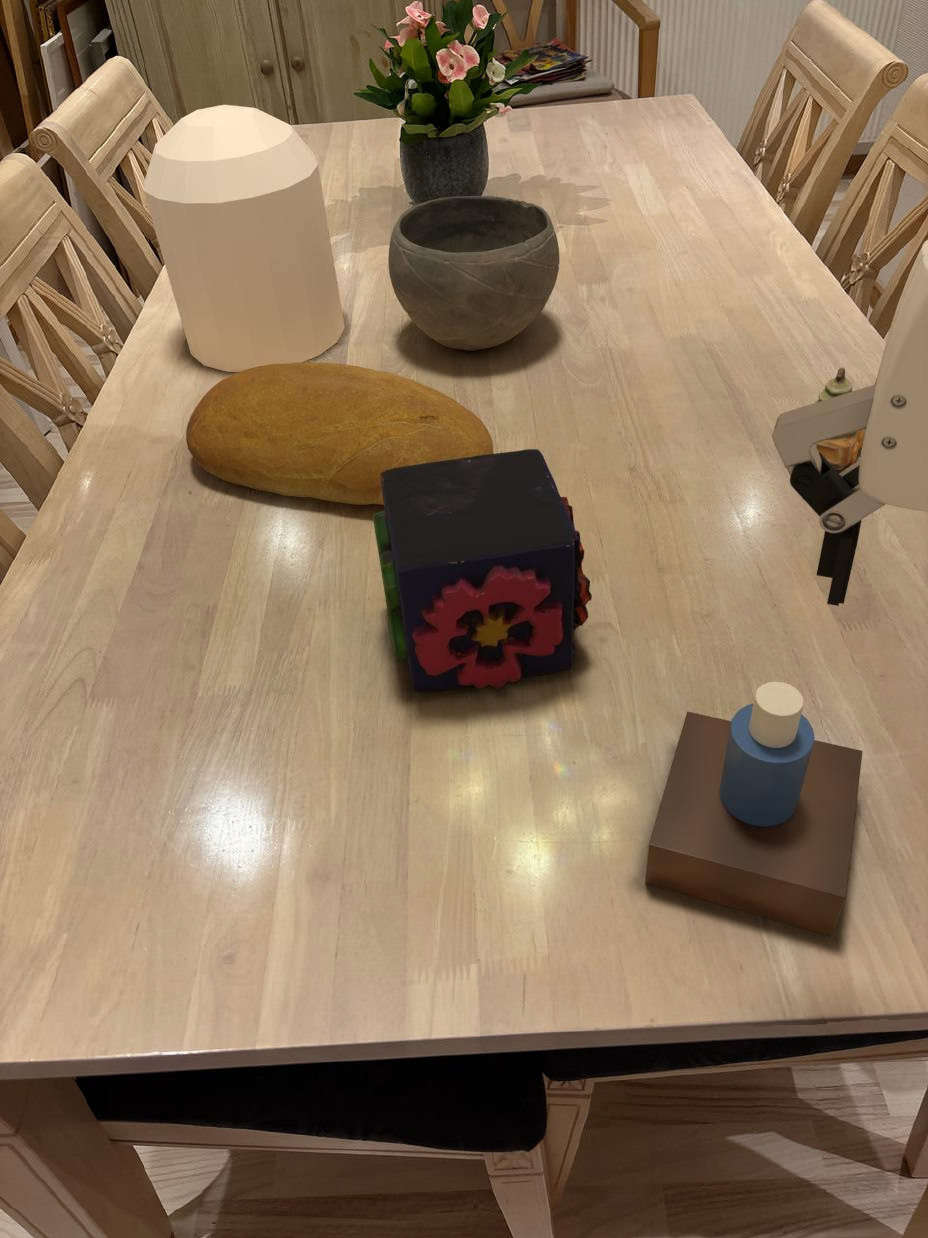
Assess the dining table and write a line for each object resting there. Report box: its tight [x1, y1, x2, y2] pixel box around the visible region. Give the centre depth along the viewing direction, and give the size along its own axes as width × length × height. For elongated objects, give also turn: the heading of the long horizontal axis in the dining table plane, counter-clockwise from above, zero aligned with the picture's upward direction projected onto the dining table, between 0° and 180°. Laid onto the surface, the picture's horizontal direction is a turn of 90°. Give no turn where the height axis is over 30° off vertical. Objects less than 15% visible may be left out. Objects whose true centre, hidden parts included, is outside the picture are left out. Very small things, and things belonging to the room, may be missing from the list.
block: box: [644, 711, 863, 937], centre depth 66 cm, size 12×12×4 cm
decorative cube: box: [372, 448, 593, 693], centre depth 80 cm, size 16×16×14 cm
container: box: [143, 104, 346, 373], centre depth 121 cm, size 21×21×28 cm
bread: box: [185, 361, 494, 506], centre depth 103 cm, size 18×35×10 cm, turn 70°
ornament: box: [812, 366, 865, 471], centre depth 97 cm, size 8×6×10 cm
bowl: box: [388, 195, 560, 352], centre depth 120 cm, size 21×21×15 cm
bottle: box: [719, 681, 816, 827], centre depth 61 cm, size 5×5×10 cm
